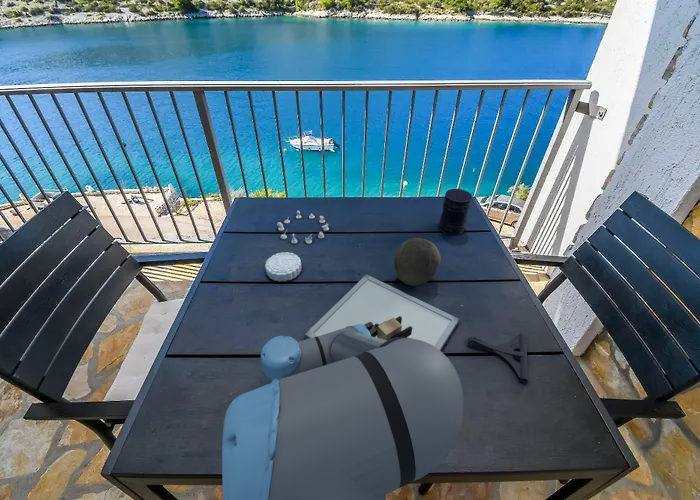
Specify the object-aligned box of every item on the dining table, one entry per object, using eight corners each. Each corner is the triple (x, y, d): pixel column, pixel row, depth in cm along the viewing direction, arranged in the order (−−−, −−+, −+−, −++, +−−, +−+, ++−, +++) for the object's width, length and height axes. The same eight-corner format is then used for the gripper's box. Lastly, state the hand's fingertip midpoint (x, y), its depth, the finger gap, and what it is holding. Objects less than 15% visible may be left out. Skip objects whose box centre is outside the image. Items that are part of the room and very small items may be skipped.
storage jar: (434, 229, 138) (440, 195, 128) (446, 218, 143) (452, 186, 134) (457, 238, 133) (465, 204, 123) (468, 227, 138) (477, 194, 129)
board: (407, 404, 82) (408, 400, 80) (305, 338, 96) (304, 334, 95) (457, 323, 100) (459, 318, 99) (366, 278, 115) (366, 274, 114)
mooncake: (261, 280, 115) (259, 272, 112) (272, 257, 124) (270, 249, 122) (297, 283, 113) (296, 275, 111) (305, 259, 123) (304, 251, 121)
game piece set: (269, 239, 132) (268, 230, 130) (291, 212, 147) (290, 204, 145) (317, 248, 128) (316, 240, 126) (335, 219, 143) (334, 211, 141)
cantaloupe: (431, 299, 108) (439, 262, 99) (387, 288, 112) (391, 251, 102) (438, 270, 118) (446, 235, 109) (398, 261, 122) (402, 226, 113)
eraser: (377, 368, 87) (380, 342, 81) (366, 354, 90) (367, 328, 84) (408, 349, 92) (412, 323, 85) (395, 336, 95) (399, 310, 88)
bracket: (469, 324, 100) (471, 317, 99) (525, 338, 96) (528, 332, 95) (464, 365, 90) (466, 359, 88) (526, 383, 86) (530, 377, 84)
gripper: (310, 355, 86) (384, 314, 97) (347, 408, 76) (425, 356, 86) (308, 336, 82) (386, 295, 92) (346, 390, 71) (430, 337, 81)
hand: (405, 325), depth 89 cm, fingers closed on eraser, 3 cm apart
